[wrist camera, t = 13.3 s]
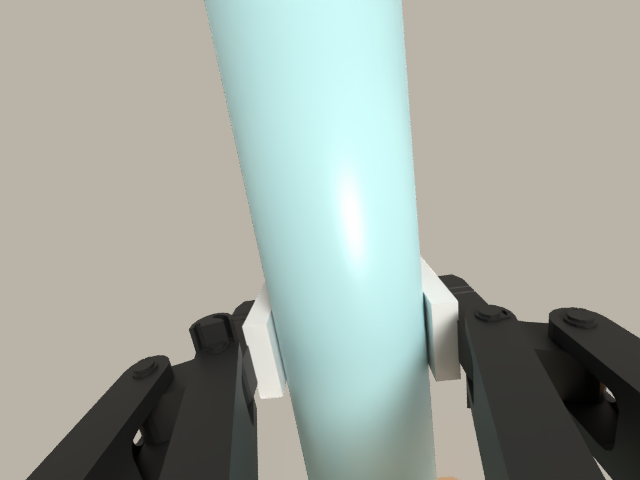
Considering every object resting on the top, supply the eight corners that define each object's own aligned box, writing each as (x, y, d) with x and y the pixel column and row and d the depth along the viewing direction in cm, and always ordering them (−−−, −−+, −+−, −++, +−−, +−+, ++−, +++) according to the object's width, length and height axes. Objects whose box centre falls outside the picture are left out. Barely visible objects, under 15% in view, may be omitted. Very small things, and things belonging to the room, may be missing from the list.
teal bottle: (319, 632, 12) (133, -117, 6) (337, 496, 17) (244, -3, 11) (455, 661, 11) (396, -234, 5) (434, 506, 16) (391, -47, 10)
